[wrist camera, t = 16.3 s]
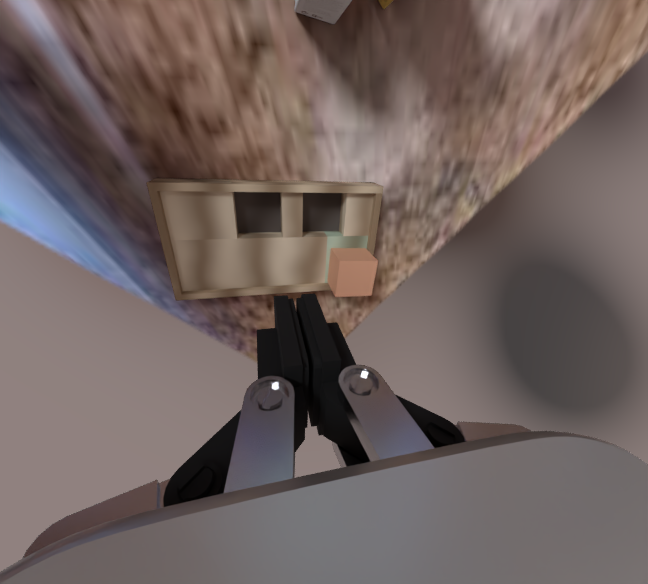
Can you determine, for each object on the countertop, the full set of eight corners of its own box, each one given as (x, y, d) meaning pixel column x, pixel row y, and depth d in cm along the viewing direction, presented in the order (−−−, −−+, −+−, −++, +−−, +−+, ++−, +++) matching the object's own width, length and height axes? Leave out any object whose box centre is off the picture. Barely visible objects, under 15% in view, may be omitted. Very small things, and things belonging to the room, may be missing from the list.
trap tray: (181, 288, 38) (175, 300, 35) (156, 178, 31) (146, 182, 28) (361, 277, 43) (368, 287, 40) (373, 182, 36) (383, 186, 34)
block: (327, 281, 39) (335, 297, 36) (330, 247, 37) (339, 261, 33) (360, 280, 41) (371, 295, 37) (365, 248, 38) (378, 260, 34)
